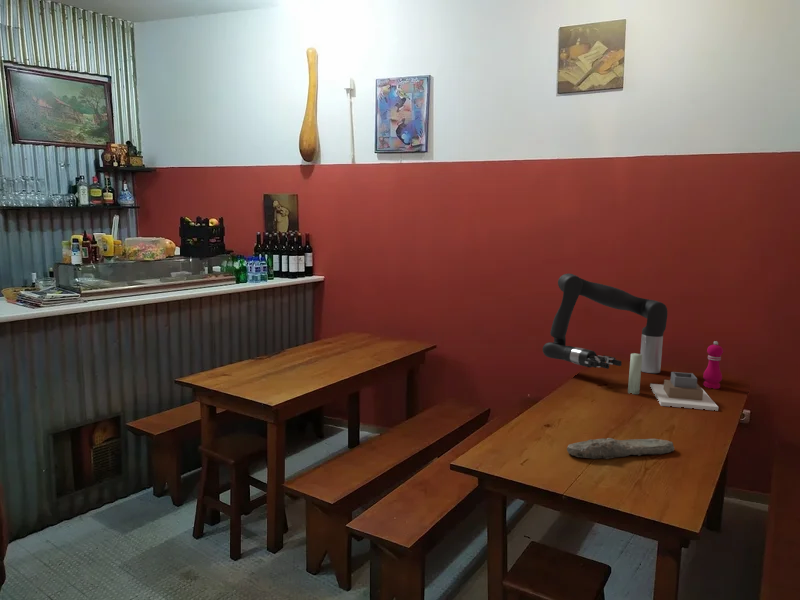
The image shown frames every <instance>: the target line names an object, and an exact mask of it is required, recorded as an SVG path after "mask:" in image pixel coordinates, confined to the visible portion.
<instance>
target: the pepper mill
mask: <svg viewBox="0 0 800 600" xmlns="http://www.w3.org/2000/svg"><path fill="white" fill-rule="evenodd" d="M706 353H707V354H708V355H707V359H708V364H707V367H706V369H705V370H704V371H703V374H702V375H703V377H702V378H703V380H704V381H703V387H704V386H705V388H707V387H708V388H707V389H711V388H713V389H712V390H715V389H716V390H717V389H720V388H721V383H720V382H721V381H722V380H723V374H722V372H721V368H720V361H721V360H722V355H723V353H724V349H723V347H722V346H721V345H719V342H718V341H717V340H716V341H715V340H714V341H713V344H710V345H709V346H708V347H707V350H706Z"/></svg>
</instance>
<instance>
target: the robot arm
mask: <svg viewBox="0 0 800 600" xmlns="http://www.w3.org/2000/svg"><path fill="white" fill-rule="evenodd" d="M557 285H558V288H559V290H560V291H561V292H563V294H562V299H561V303H560V306H559V308H558V309H557V312H556V314H555V316H554V318H553V321H552V324H551V329H550V332H549V333H550V336H551V337H553V342H552V341H551V342H546V343H545V344H544V345H543V346H542V353H543V355H544V356H545V357H547V358H550V359H555V360H562V361H565V362H568V363H573V364H575V365H578V366H582V367H586V368H603V369H610V365H613V366H618V367H622V364H623V363H622V360H618V359H616V357H614V356H608V355H605V354H604V355H599V354H598V355H597V352H595V350H591V349H587V348H584V347H583V348H582V347H577V346H571V345H567V344H566V340H567V339H566V336H567V332H568V329H569V328H568V327H569V324H570V320H571V317H572V314H573V311H574V309H575V305H576V302H577V301H578V299H579V296H581V297H585V298H587V299H589V300H591V301H592V302H595V303H598V304H600V305H603V306H605V307H608V308H611V309H616V310H620V311H628V312H631V313H634V314H636V315H639V316H640V317H643V318H645V319H646V325H645V326H644V327H643V328H642V330H641V340H640V351H639V352H640V353H639V354H641V355H642V366H641V373H648V374H659V373H661V365H662V355H663V342H664V334H665V333H664V332H665V330H666V328H667V321H668V308H667V305H666V304H665V303H663V302H661V301H659V300H655V299H649V298H648V299H647V298H643V297H638V296H635V295H633V294H631V293H629V292H627V291H626V290H625V291H624V290H623V289H620V288H617V287H614V286H611V285H607V284H603V283H598V282H593V281H588V280H587V279H583V278H581V277H579V276H578V275H576V274H573V273H564V274H562V275H561V276H560V277H559V278H558V279H557Z"/></svg>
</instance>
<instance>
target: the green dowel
mask: <svg viewBox="0 0 800 600" xmlns="http://www.w3.org/2000/svg"><path fill="white" fill-rule="evenodd" d="M629 360H630V361H629V373H628V387H627V394H630V393H632V394H631V395H639V394H640V389H641V376H642V375H641V374H642V371H641V366H642V355H641V354H640V353H635V352H633V353H630V359H629Z"/></svg>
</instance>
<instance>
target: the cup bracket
mask: <svg viewBox="0 0 800 600" xmlns="http://www.w3.org/2000/svg"><path fill="white" fill-rule="evenodd" d="M649 387H651V388H650V389H652V390H651V392H652V393H653V395H654V394H655V395H654V396H655V398H656V400H657V399H658V400H657V402H658V401H659V402H658V403H659V405H660V406H661V407H670V406H672V408H673V407H674V408H681V407H684V409H692V408H694V410H695V409H696V410H703V409H705V410H707V411H714V410H715V412H716V411H717V412H719V406H718V405H717V404H716V402H715V401H714V400H713V399H712V398H711V397H710V396H709V395H708V393H707V392H706V391H705V390H704V389H703V388H702V387H701V386H700V385H699V384H698V378H697V377H696V375H695V374H694V373H693V372H679V371H671V372H670V379H664V380H663V384H660V383H659V384H658V383H650V384H649ZM705 410H704V411H705Z"/></svg>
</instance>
